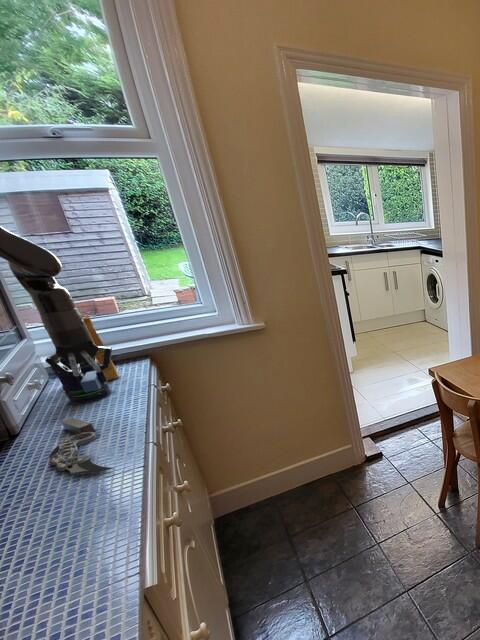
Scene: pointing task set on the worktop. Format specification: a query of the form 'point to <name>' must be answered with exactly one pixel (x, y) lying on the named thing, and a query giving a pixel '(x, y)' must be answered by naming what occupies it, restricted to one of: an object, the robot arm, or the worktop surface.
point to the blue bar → (91, 382)
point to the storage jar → (73, 387)
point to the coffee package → (111, 370)
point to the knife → (68, 461)
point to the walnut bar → (77, 426)
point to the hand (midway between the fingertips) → (95, 385)
